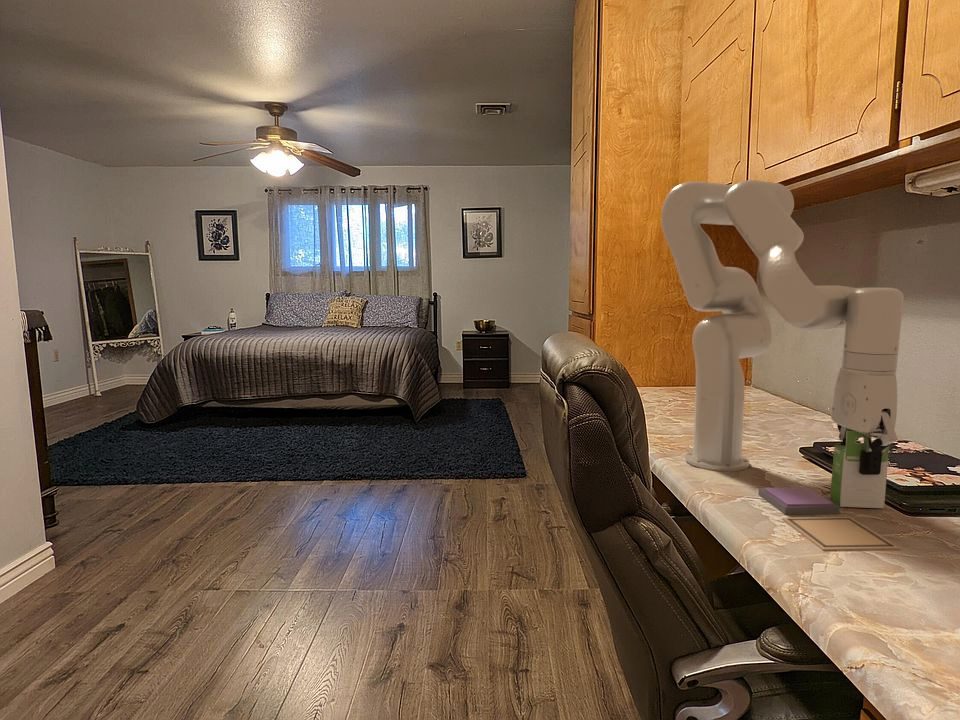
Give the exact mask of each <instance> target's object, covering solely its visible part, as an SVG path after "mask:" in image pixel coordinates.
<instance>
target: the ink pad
mask: <svg viewBox="0 0 960 720" xmlns="http://www.w3.org/2000/svg"><path fill="white" fill-rule="evenodd" d="M757 494H758V496H760V497H761V498H762V499H764V500H765V501H766V502H768V503H769V504H771V506H773V507H774V508H776V509H777V510H778V511H779V512H781V513H782V514H784V515H840V511H841V507H840V506H838V505H837V504H836V503H834V502H833V501H832V500H831V499H830V500H829V499H828V498H827V497H825V496H823V495H821V494H820V493H818V492H816V491H815V490H813V489H812V488H810V487H807V486H805V487H804V486H803V487H802V486H801V487H800V486H799V487H796V486H795V487H791V486H790V487H762V488H761V487H760V488H758V493H757Z"/></svg>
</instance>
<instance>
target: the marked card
mask: <svg viewBox="0 0 960 720" xmlns="http://www.w3.org/2000/svg"><path fill="white" fill-rule="evenodd" d="M781 520H782V521H783V522H785V523H786V524H787V525H788V526H790V527H791V528H792V529H793V530H795V531H797V533H799V534H801V535H802V536H803V537H804V538H806V540H808V541H810V543H812V544H813V545H815V546H816V547H817V548H818V549H820V550H821V551H822V552H823V551H824V552H827V551H828V552H830V551H833V552H836V551H837V552H838V551H839V552H840V551H841V552H842V551H896V550H898V551H901V547H899V546H898V545H897V544H894V543H893V542H891V541H890V540H888V539H886V538H885V537H884V536H882V535H880V534H879V533H877V532H875V531H874V530H873V529H871V528H869V527H868V526H866V525H865V524H863V523H861V522H859V521H858V520H856V519H855V518H853V517H851V516H821V517H820V516H819V517H818V516H817V517H815V516H814V517H813V516H812V517H808V516H807V517H782V519H781Z"/></svg>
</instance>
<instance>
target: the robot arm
mask: <svg viewBox="0 0 960 720" xmlns="http://www.w3.org/2000/svg"><path fill="white" fill-rule="evenodd" d="M794 208H795V200H794V196H793V193H792V192H791V190H790V189H789V188H788V187H787V186H786V185H784V184H782V183H778V182H772V181H764V180H757V179H748V180H742V181H739V182H737V183H736V184H725V183H724V184H723V183H715V182H709V181H708V182H707V181H685V182H683V183H680V184H678V185H676V186H675V187H673V188H671V190H670V191H669V192H668V193H667V195H666V198H665V199H664V202H663V205H662V208H661V213H660V214H661V215H660V224H661V230H662V232H663V236H664V238H665V240H666V243H667V245H668V248H669V250H670V253H671V254H672V257H673V262H674V264H675V267H676V271H677V275H678V277H679V279H680V284H681V285H682V289H683V292H684V295H685V298H686V300H687V303H688V305H689V306H690V308H692V309H694V310H695V311H698V312H702V313H704V312H710V313H711V312H721V313H722V314H715V315H710V316H707V317H705V318H703V319H702V320H701V321H699V322H698V324H696V326H695V327H694V330H693V333H692V341H691V342H692V343H691V344H692V349H693V355H694V361H695V362H694V363H695V392H694V393H695V395H694V396H695V397H694V399H695V400H694V423H693V427H694V428H693V445H692V446H693V447H692V448H693V449H692V450H690V451H688V452H686V453H685V456H684V457H685V459H684V460H685V462H686V463H688V464H689V465H691V466H693V467H696V468H700V469H704V470H708V471H718V472H736V471H737V472H738V471H742V470H746V469H748V468H749V467H750V460H749V458H747V456H745V455H743V454H742V449H743V430H744V429H743V428H744V427H743V426H744V411H745V407H744V406H745V386H746V384H745V375H744V370H743V368H742V365H741V362H740V359H748V358H754V357H758V356H760V355H762V354H764V353H765V352H766V351H767V350H768V349H769V348H770V346H771V343H772V339H773V330H772V324H771V322H770V319H769V316H768V313H767V311H766V307H765V305H764V302H763V299H762V296H761V294H760V291H759V288H758V286H757V283H756V281H755V280H754V278H753V277H752V275H751V274H750V273H749V272H747V271H746V270H745V269H742V268H740V267H735V266H724V265H723V264H722V263H721V261H720V259H719V256H718V254H717V250H716V248H715V245H714V242H713V241H712V239H711V238H710V236H709V235H708V234H707V233H706V232H705V230H704V229H703V228H702V226H701V224H704V225H705V224H706V225H719V226H720V225H721V226H734V227H735V229H736V230H737V231H738V233H739V235H741V237H742V238H743V240H744V241H745V242H746V244H747V245H748V247H749V249H751V251H752V252H753V253H754V255H755V256H756V258H757V259H758V261H759V267H758V269H759V277H760V283H761V286H762V290H763V291H764V293H765V296H767V298H768V300H769V301H770V303H771V304H772V306H773V307H774V308H775V309H776V311H777V312H778V314H779V315H780V317H782V318H783V320H785V321H786V322H787V324H789V325H791V326H792V327H794V328H795V329H798V330H801V331H815V330H830V329H840V328H842V329H843V328H844V339H843V350H842V359H841V360H842V362H841V366H840V367H839V372H838V373H837V377H836V382H835V387H834V392H833V397H832V403H831V411H830V414H831V415H830V416H831V420H832V421H833V423H835V424H836V425H837V427H836V428H837V429H838V432H839V434H838V439H839V441H840V445H839V446H846V431H855V432H858V433H860V434H863V437H862V438H863V443H864V450H861V455H860V466H859V473H860V474H862V475H879V474H880V471H881V461H882V452H885V450H886V447H888V446H889V447H890V445H891V444H893V443H895V442H897V440H898V436H897V434H896V431H895V427H896V422H897V415H898V381H897V375H896V374H897V370H898V369H897V367H898V360H899V359H898V357H899V347H900V339H901V331H902V329H901V328H902V321H903V320H902V318H903V309H904V294H903V292H902V291H901V290H900V289H898V288H893V287H851V286H847V285H845V286H843V285H829V284H828V285H814V284H813V283H812V281H811V280H810V279H809V277H808V276H807V274H806V273H805V272H804V271H803V270H802V268H801V267H800V264H799V263H798V261H797V259H796V255H795V252H796V251H797V250H798V249H799V248H800V247H801V245H802V244H803V242H804V239H805V238H804V236H805V235H804V232H803V230H802V229H801V228H800V226H799V225H798V224H797V223H796V221H795V220H794V219H793V218H792V217H791V215H792V214H793V211H794ZM874 431H877V432H874ZM871 436H877V438H874V440H873V441H872V437H871ZM859 439H860V438H857V439H856V442H857V443H862V442H861V441H859Z"/></svg>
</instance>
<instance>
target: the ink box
mask: <svg viewBox="0 0 960 720" xmlns="http://www.w3.org/2000/svg"><path fill="white" fill-rule="evenodd" d="M874 432H877V431H876V430H875V431H874ZM857 438H859V439H860V438H863V434H860V433H858V432H855V431H846V446H840V445H834V449H833V460H832V461H833V462H832V471H831V481H830V482H831V483H830V494H829V495H830V496H829V498H830V501H831V502H833V503H835V504H836V505H838V506H839V507H840V508H847V507H848V508H862V509H863V508H865V509H867V508H868V509H884V508H885V503H886V502H885V500H886V489H887V476H888V465H889V464H888V463H889V450H890V445H889V446H888V447H886V450H885V452H882V461H881V471H880V474H879V475H862V474H860V473H859V466H860V455H861V450H864V442H861V443H857V442H856V439H857ZM871 438H874V439H877V436H871Z"/></svg>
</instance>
